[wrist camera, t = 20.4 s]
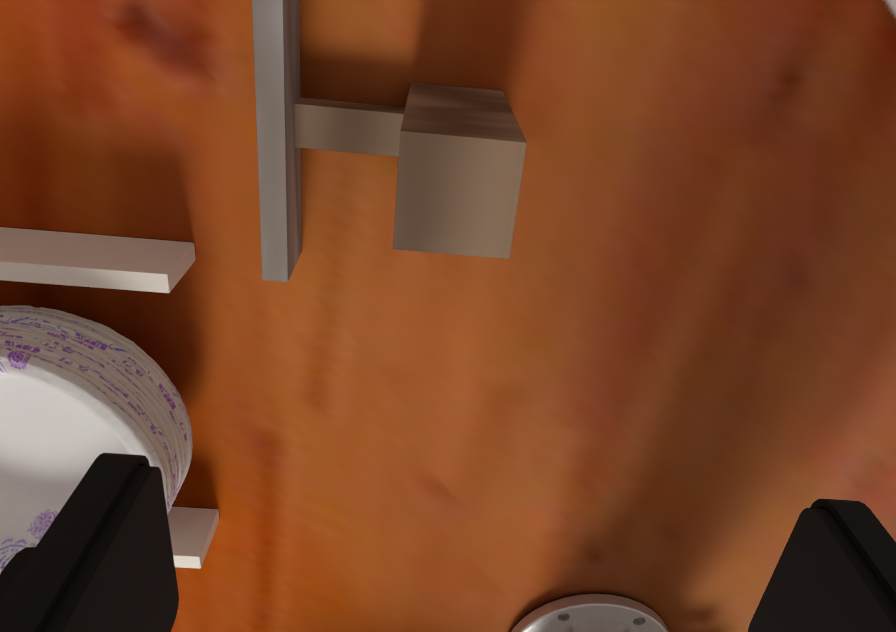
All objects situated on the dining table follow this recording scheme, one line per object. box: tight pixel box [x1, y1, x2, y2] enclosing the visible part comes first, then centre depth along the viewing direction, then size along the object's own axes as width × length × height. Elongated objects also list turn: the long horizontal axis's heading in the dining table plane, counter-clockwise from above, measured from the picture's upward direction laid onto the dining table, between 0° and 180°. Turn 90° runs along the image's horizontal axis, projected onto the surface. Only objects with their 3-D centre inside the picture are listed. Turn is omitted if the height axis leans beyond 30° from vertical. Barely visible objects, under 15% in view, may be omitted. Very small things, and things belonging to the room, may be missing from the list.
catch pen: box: [0, 227, 219, 568], centre depth 38 cm, size 17×20×4 cm
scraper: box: [252, 0, 527, 282], centre depth 29 cm, size 11×14×10 cm
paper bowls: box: [0, 305, 193, 573], centre depth 37 cm, size 15×15×8 cm
